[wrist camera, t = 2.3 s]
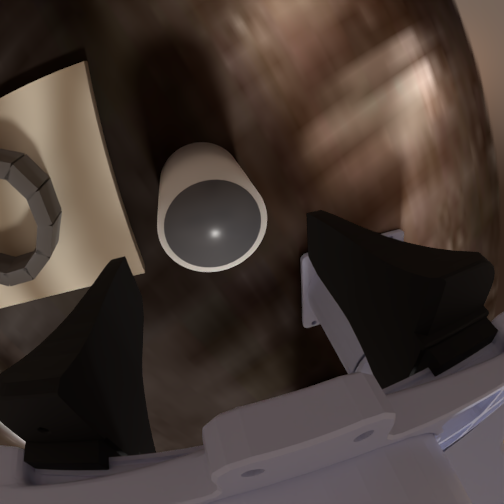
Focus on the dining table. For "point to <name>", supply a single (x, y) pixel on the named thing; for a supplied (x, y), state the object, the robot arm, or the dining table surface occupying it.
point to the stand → (57, 191)
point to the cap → (208, 209)
